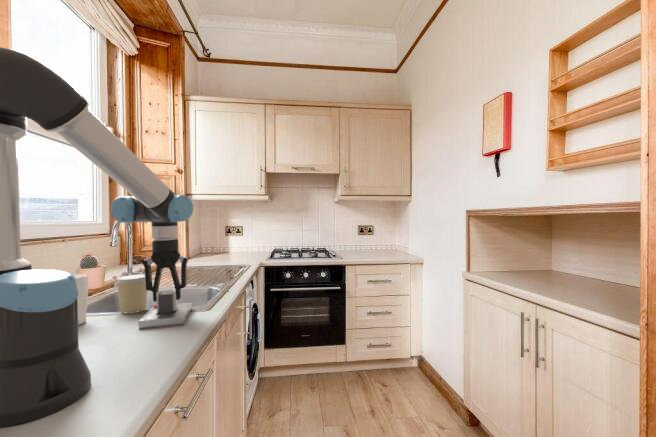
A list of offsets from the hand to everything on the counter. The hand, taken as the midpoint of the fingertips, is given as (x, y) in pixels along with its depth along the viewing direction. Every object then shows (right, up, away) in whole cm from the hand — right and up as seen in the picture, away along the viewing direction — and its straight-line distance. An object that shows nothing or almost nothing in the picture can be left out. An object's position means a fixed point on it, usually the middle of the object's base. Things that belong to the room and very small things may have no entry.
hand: (167, 310), depth 100 cm
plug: (0, -2, 0) cm, 2 cm away
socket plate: (0, -3, 0) cm, 3 cm away
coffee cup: (-17, -3, +9) cm, 19 cm away
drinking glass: (-27, -3, -4) cm, 27 cm away
